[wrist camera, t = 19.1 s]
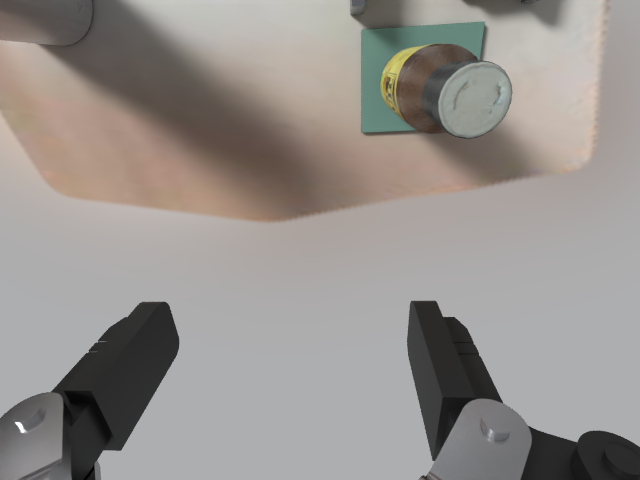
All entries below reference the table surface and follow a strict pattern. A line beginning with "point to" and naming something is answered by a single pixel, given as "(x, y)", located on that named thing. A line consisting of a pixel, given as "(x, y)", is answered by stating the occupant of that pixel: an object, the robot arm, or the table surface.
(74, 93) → the table surface
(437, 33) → the green rubber mat
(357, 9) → the grey three-sided tray
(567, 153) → the table surface
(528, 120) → the table surface
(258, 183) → the table surface
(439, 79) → the sauce bottle
